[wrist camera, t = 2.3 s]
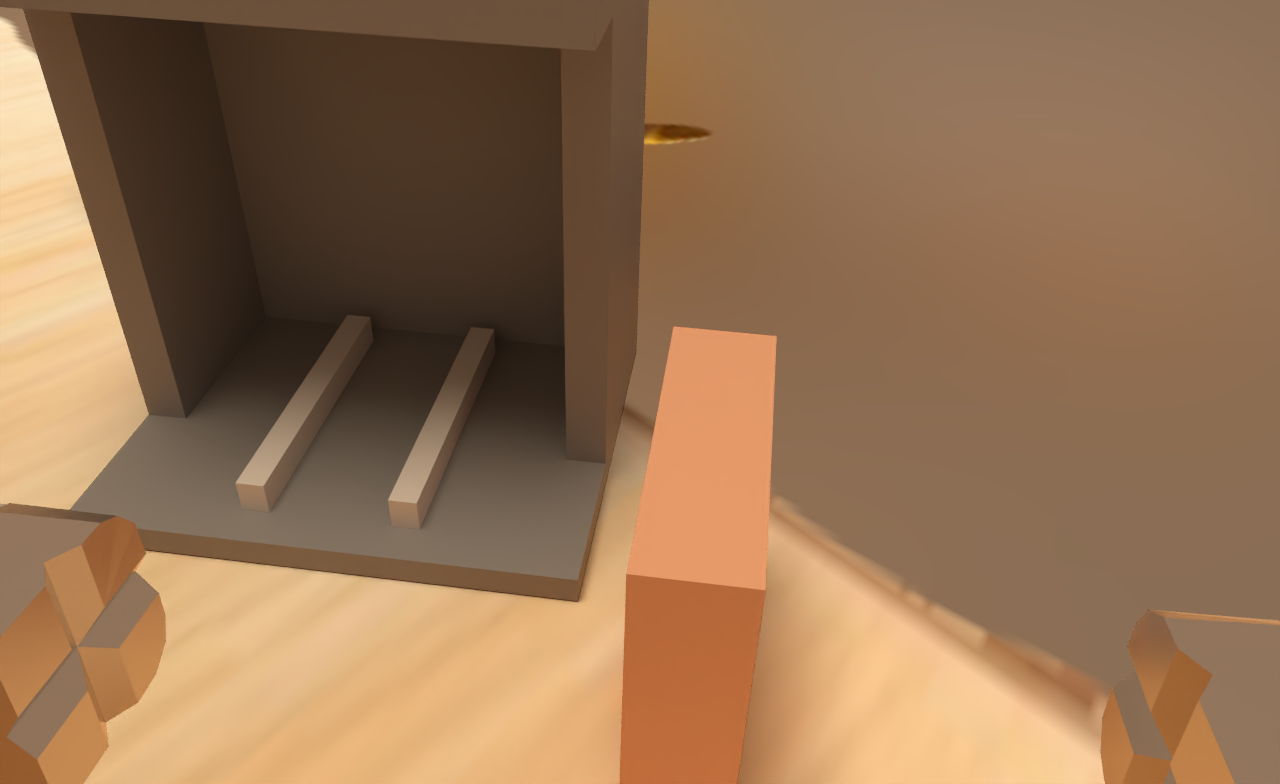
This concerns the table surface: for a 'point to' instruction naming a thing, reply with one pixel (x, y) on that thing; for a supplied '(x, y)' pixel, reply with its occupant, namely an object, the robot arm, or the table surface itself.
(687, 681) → the tile panel
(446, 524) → the overhang dock
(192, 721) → the table surface
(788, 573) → the table surface
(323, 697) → the table surface
